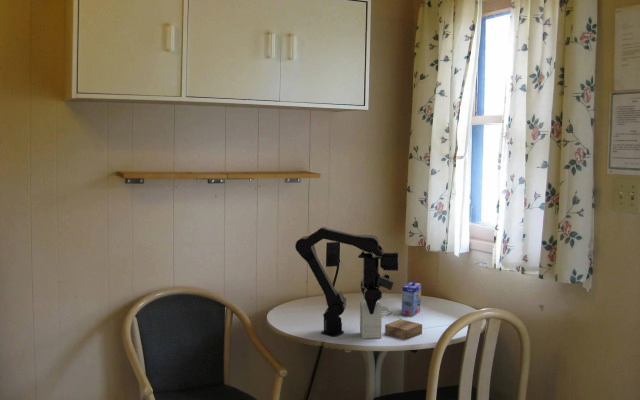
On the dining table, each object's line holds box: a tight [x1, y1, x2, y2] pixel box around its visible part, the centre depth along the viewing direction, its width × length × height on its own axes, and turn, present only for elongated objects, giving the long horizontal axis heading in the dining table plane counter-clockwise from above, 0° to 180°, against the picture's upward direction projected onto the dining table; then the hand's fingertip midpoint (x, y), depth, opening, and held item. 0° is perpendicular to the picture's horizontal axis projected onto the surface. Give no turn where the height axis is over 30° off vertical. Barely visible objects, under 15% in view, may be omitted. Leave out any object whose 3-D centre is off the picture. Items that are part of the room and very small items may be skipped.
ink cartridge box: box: [401, 278, 422, 318], centre depth 262 cm, size 10×6×14 cm, turn 152°
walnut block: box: [384, 318, 423, 341], centre depth 235 cm, size 10×10×4 cm
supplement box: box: [359, 299, 382, 339], centre depth 233 cm, size 7×7×13 cm
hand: (370, 310), depth 233 cm, fingers open, 9 cm apart
